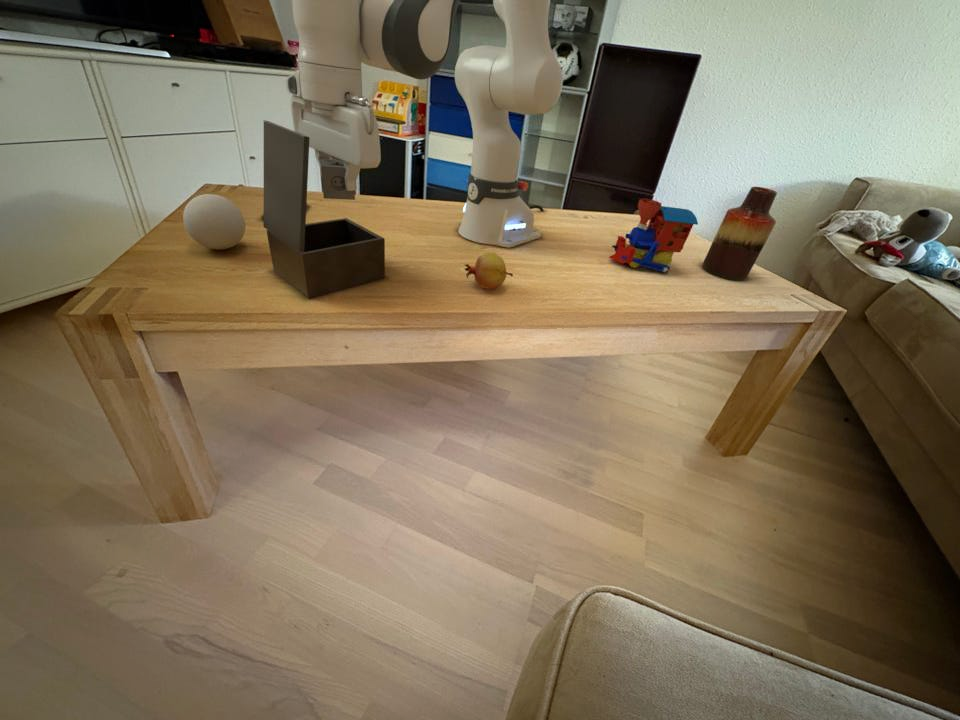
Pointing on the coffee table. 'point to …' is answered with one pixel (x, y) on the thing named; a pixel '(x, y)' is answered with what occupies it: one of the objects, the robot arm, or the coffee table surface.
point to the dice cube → (334, 180)
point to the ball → (214, 221)
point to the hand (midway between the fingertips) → (338, 184)
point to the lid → (285, 183)
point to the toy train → (655, 236)
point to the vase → (741, 236)
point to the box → (330, 257)
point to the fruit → (488, 270)
